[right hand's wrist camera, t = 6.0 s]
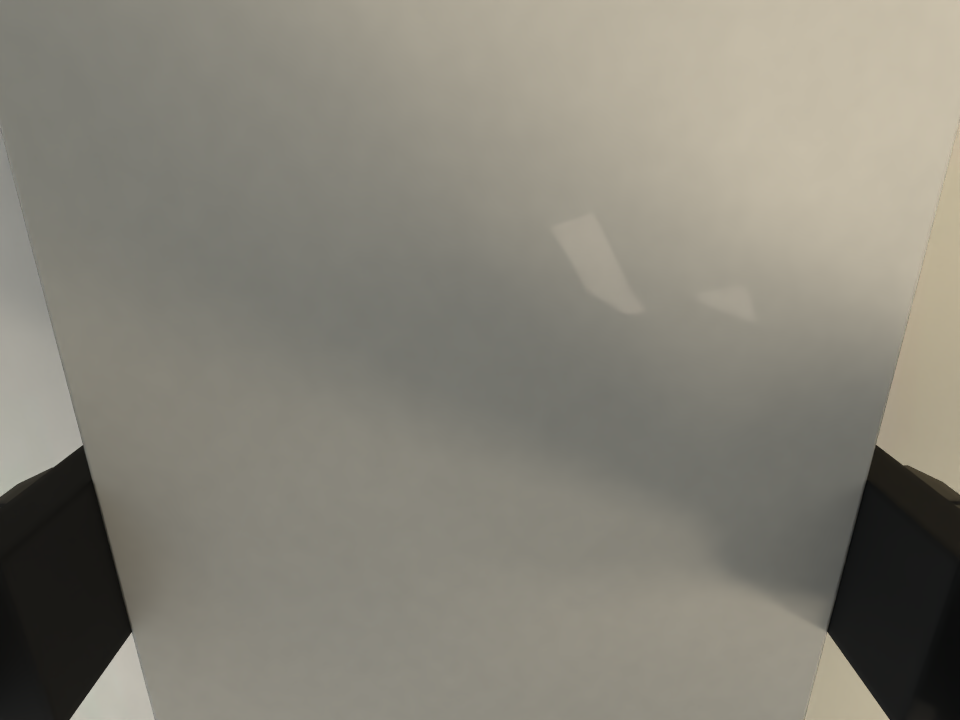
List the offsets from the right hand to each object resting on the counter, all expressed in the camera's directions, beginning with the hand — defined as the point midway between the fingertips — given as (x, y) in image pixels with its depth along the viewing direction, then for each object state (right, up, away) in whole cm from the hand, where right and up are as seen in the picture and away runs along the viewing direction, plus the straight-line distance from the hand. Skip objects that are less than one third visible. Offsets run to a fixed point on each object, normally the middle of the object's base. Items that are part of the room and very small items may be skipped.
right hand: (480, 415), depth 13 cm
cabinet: (0, +8, +3) cm, 8 cm away
